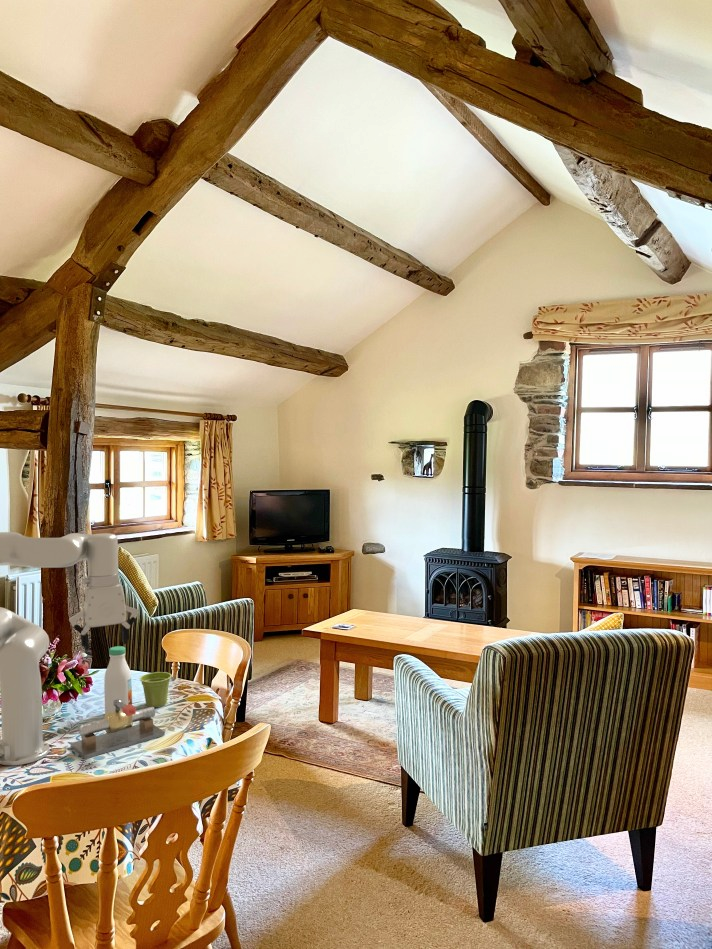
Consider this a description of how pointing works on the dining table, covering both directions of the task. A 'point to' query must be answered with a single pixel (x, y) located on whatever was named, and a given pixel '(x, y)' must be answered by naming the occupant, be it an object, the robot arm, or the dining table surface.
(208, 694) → the dining table surface
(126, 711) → the valve lever
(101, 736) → the stand
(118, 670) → the milk bottle
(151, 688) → the plant pot
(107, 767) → the dining table surface
